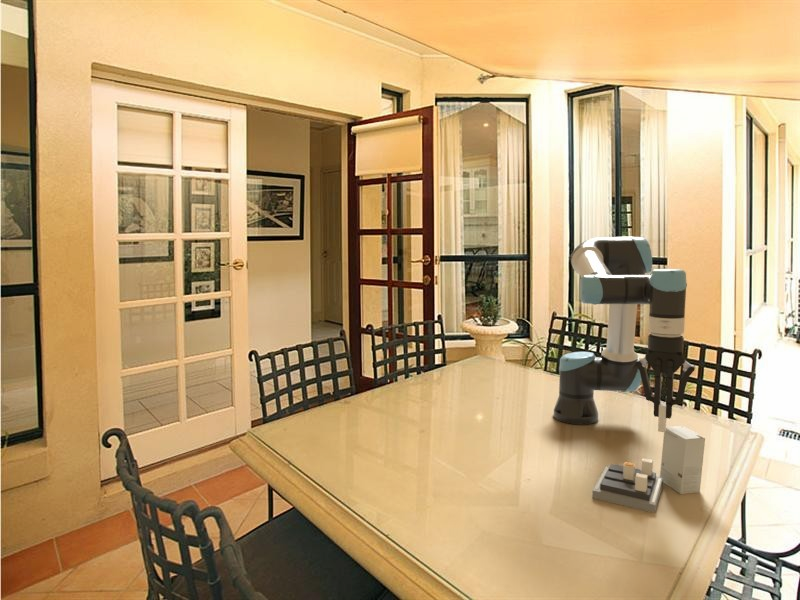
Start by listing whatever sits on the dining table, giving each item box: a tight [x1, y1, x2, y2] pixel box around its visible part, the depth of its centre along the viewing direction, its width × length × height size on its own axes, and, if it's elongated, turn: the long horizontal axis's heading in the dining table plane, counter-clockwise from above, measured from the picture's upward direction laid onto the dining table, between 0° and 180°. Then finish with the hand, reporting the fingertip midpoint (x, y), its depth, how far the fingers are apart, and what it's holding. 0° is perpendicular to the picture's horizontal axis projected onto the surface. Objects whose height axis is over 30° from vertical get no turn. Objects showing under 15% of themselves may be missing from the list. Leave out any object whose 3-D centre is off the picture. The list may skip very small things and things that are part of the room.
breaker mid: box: [622, 461, 636, 480], centre depth 131 cm, size 2×2×4 cm
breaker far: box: [640, 457, 654, 476], centre depth 133 cm, size 2×2×4 cm
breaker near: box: [635, 473, 648, 492], centre depth 125 cm, size 2×2×4 cm
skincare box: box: [659, 425, 706, 495], centre depth 133 cm, size 8×6×15 cm
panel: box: [592, 463, 664, 514], centre depth 131 cm, size 14×16×4 cm
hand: (662, 430), depth 126 cm, fingers closed
